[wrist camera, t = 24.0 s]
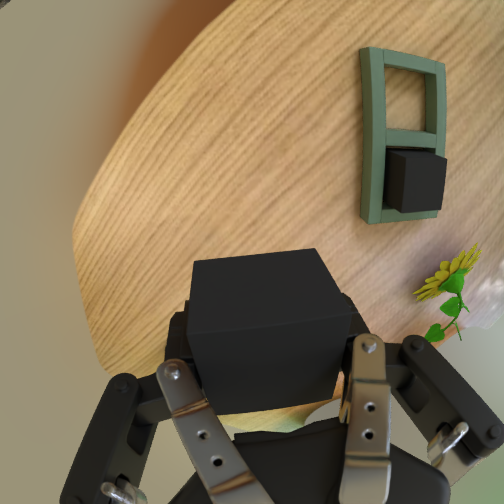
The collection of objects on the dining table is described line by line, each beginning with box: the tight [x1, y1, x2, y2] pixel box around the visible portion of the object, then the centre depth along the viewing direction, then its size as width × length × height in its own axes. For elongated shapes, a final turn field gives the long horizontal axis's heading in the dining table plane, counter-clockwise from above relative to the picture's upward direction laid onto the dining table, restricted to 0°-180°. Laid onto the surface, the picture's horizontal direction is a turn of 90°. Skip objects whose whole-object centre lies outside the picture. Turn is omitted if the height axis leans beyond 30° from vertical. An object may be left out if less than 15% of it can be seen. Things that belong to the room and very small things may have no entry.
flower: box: [412, 242, 482, 343], centre depth 36 cm, size 12×9×30 cm
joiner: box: [359, 47, 447, 224], centre depth 24 cm, size 10×18×2 cm, turn 4°
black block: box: [186, 248, 352, 415], centre depth 12 cm, size 5×5×4 cm
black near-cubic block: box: [382, 148, 447, 214], centre depth 25 cm, size 5×5×4 cm
